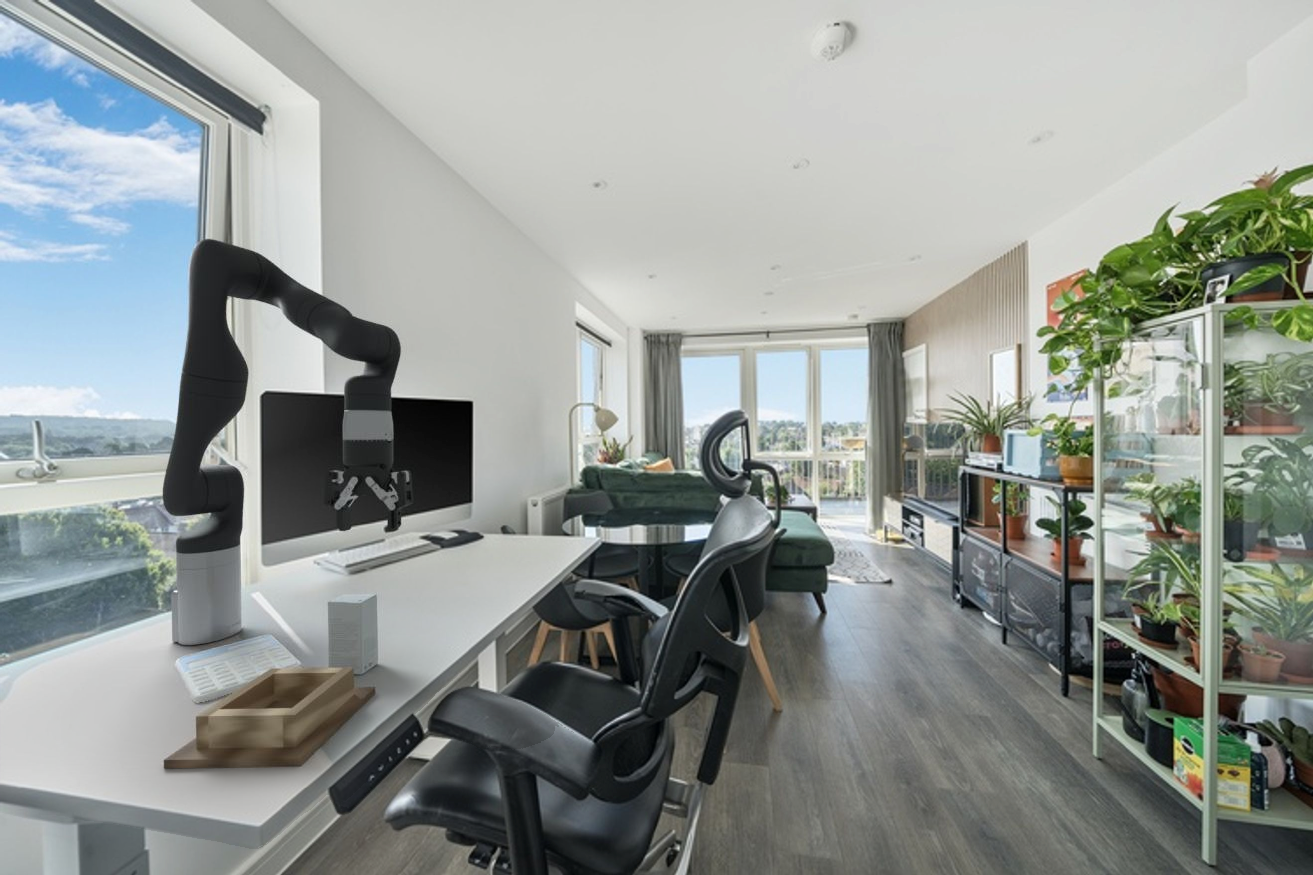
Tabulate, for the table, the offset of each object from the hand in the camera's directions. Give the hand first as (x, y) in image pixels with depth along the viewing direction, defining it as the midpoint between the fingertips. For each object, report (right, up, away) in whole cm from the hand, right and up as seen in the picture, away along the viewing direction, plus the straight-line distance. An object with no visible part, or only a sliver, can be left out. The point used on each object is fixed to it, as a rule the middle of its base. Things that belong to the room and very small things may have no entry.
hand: (369, 530), depth 84 cm
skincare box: (-1, -23, -3) cm, 23 cm away
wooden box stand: (-1, -23, -19) cm, 29 cm away
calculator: (-21, -24, -2) cm, 32 cm away
